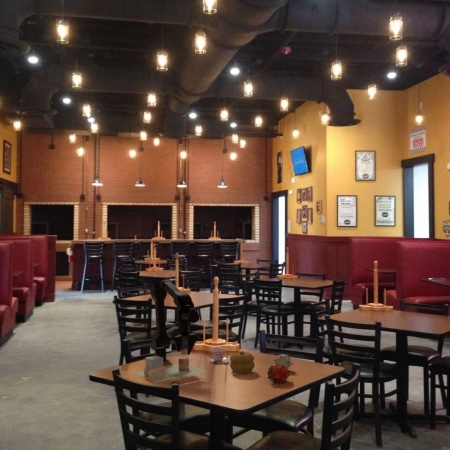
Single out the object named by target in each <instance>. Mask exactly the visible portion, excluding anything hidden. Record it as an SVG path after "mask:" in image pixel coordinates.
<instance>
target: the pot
mask: <svg viewBox="0 0 450 450" xmlns="http://www.w3.org/2000/svg"><path fill="white" fill-rule="evenodd" d="M229 360H230V362H229V367H230V369H231V371H233V373H235V374H239V375H240V374H241V375H242V374H249V373H251V372H252V371H253V369H254V368H255V366H256V365H255V364H256V363H255V362H254V360H255V356H254V354H252V353H251V352H248V351H244V350H241V351H238V352H234V353H232V354H231V355H230V356H229Z"/></svg>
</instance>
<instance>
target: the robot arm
mask: <svg viewBox="0 0 450 450" xmlns="http://www.w3.org/2000/svg"><path fill="white" fill-rule="evenodd" d="M149 292H150V297H151V298H152V300H153V302H154V309H155V310H154V312H155V327H156V330H155V331H154V333H153V339H152V342H151V343H150V349H151V351H154V356H159V357H162V358H163V363H165V362H169V361H170V359H167V350H169V349H171V342H172V341H173V343H174V345H175V349H176V351H177V353H178V352H180V351H181V348H182V343H183V342H184V343H185V344H186V353H187V355H188V356H190V355H191V353H192V351H193V348H194V346H195V345H196V343H197V342H198V341H200V336H199V334H198V333H195V332H192V331H191V330H190V326H191V325H192V324H196V323H197V322H198V321H199V319H200V314H199V312H198V311H197V310H196V308H195V304H194V301H193V300H192V297H191V295H190V294H189V293H187V292H185V291H181V290H180V289H179V288H178V287H177V286H176V285H175V284H174V283H172V281H171V280H170V279H162V280H160V281H159V282H156V283H154V284H151V286H150V287H149ZM168 295H169V296H171V298H172V299H173V301H172V302H173V303H174V305H175V306H176V308H174V311H176V320H177V321H176V322H175V323H174V326H173V327H170V328H169V329H167V324H166V310H165V309H166V308H165V300H166V297H167V296H168ZM183 339H184V340H183Z"/></svg>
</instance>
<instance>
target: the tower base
mask: <svg viewBox="0 0 450 450" xmlns="http://www.w3.org/2000/svg"><path fill="white" fill-rule="evenodd" d="M165 366H166V365H163V367H159V368H153V369H151V368H149V367H146V366H145V365H144V366H143V370H144V375H145V376H148V377H150V378H154V377H159V376H164V375H165Z"/></svg>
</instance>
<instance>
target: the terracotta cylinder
mask: <svg viewBox="0 0 450 450" xmlns="http://www.w3.org/2000/svg"><path fill="white" fill-rule="evenodd" d="M178 364H179V370H180V371H186V370H189V366H190V359H189V357H179V358H178Z"/></svg>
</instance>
